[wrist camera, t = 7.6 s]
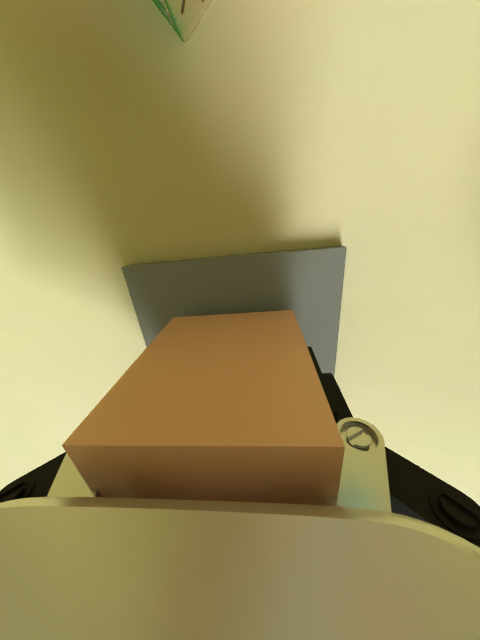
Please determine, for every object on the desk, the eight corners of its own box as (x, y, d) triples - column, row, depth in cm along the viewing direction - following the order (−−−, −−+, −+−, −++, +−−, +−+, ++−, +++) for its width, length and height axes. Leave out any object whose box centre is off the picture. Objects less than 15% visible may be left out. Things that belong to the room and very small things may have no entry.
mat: (126, 265, 12) (121, 267, 11) (342, 245, 10) (346, 246, 10) (173, 416, 16) (170, 421, 16) (327, 414, 15) (329, 420, 15)
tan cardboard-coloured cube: (173, 317, 11) (61, 445, 5) (293, 309, 11) (345, 446, 4) (194, 405, 14) (139, 567, 7) (293, 403, 13) (325, 579, 7)
